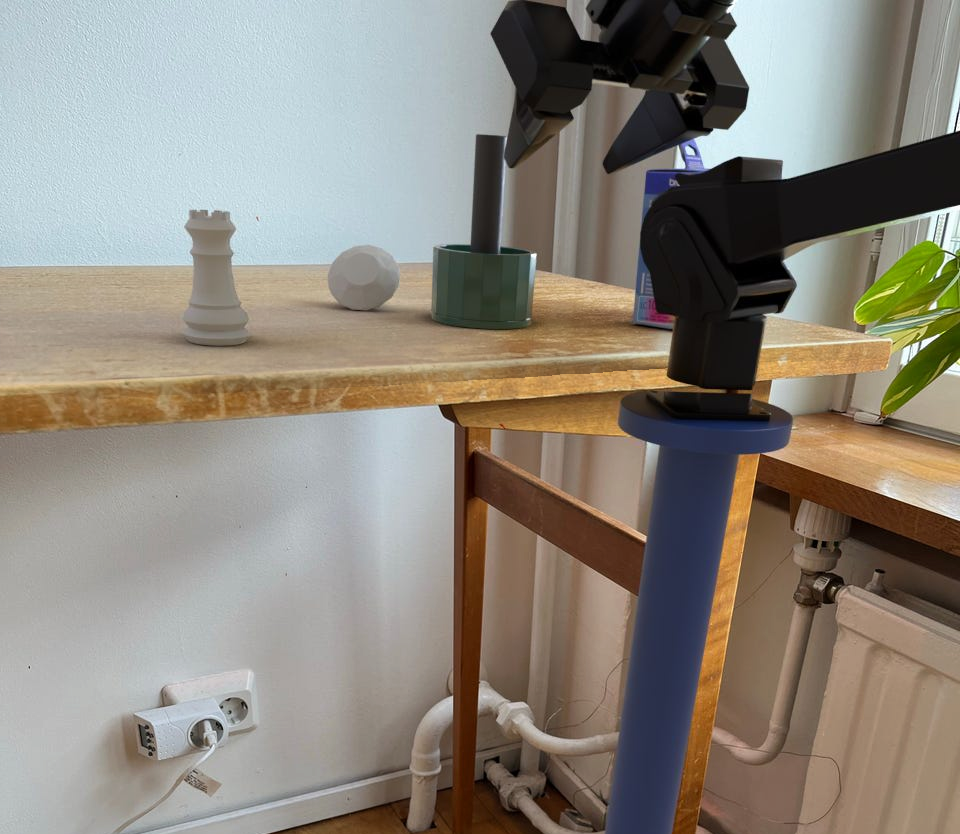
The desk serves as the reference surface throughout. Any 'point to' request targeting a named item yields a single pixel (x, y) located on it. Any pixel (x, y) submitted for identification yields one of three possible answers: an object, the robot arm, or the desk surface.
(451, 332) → the desk surface
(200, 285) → the rook chess piece
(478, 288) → the green faceted pot
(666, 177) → the ink cartridge box
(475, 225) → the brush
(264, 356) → the desk surface
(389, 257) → the gemstone
